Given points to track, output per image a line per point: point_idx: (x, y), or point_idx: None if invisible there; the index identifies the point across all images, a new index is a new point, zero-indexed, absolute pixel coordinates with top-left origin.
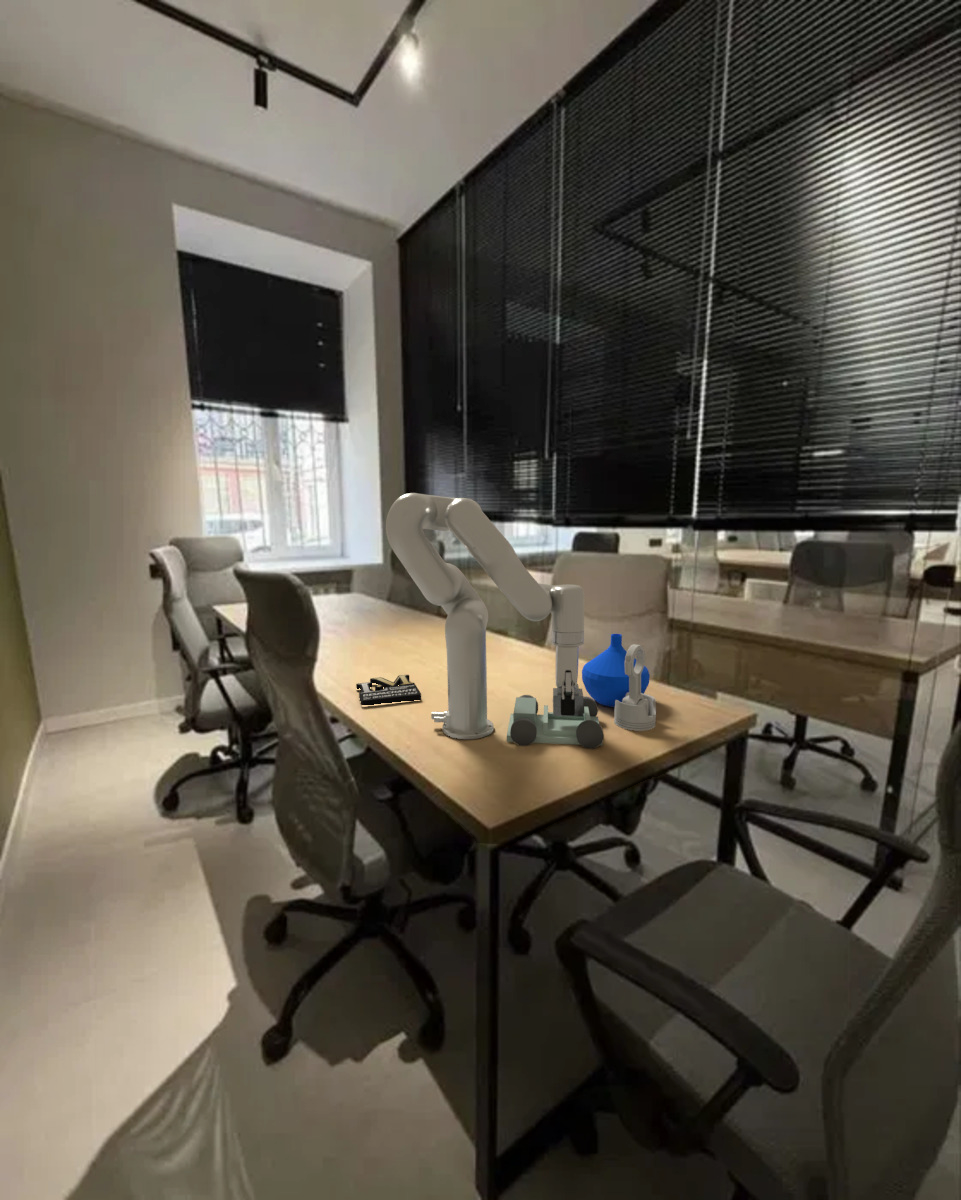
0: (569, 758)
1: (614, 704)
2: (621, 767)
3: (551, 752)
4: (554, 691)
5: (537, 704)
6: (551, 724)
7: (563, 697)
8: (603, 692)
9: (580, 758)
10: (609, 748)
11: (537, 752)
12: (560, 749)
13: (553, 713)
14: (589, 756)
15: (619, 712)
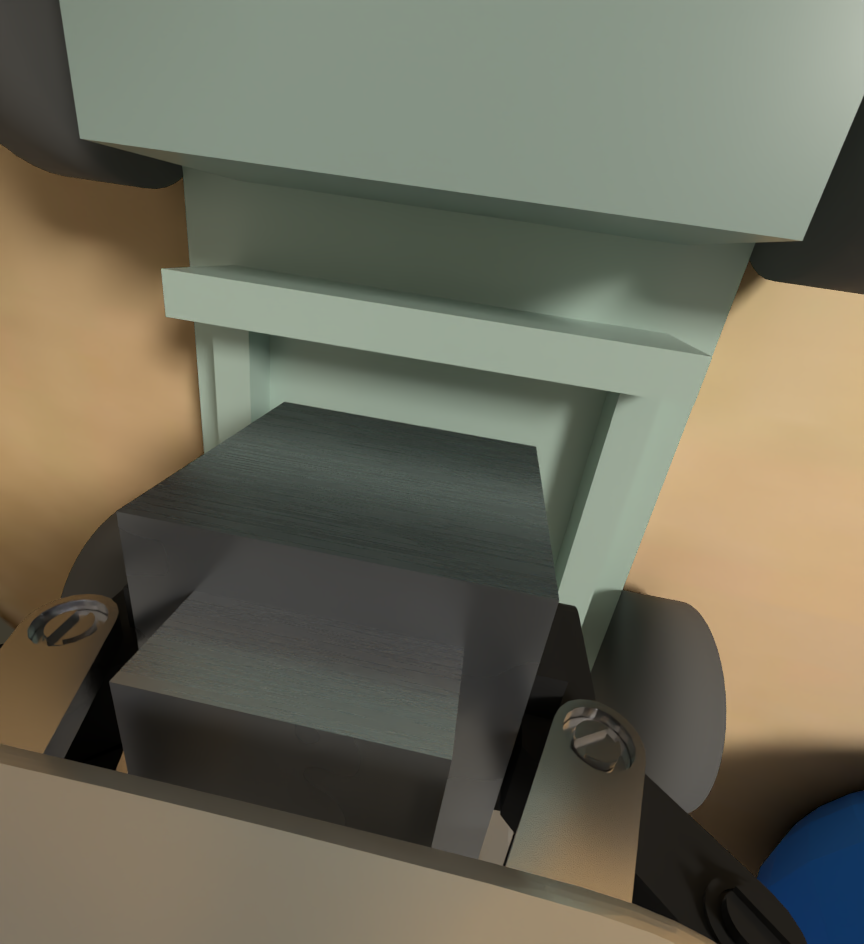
0: (36, 400)
1: (777, 846)
2: (23, 609)
3: (84, 299)
4: (348, 579)
5: (835, 278)
6: (457, 374)
7: (27, 636)
8: (841, 913)
9: (55, 460)
10: None
11: (57, 188)
12: (143, 369)
13: (272, 412)
14: (93, 511)
15: (485, 836)
